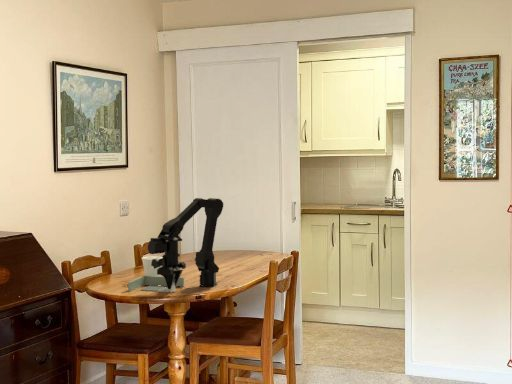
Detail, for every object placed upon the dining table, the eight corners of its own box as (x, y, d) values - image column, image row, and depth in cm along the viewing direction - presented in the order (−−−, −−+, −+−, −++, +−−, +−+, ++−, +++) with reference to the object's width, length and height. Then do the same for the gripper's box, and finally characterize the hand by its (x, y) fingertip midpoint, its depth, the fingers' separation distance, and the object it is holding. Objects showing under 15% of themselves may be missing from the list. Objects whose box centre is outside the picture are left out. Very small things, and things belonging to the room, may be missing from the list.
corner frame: (184, 286, 303) (184, 277, 303) (170, 293, 288) (170, 284, 287) (143, 284, 308) (143, 275, 308) (128, 291, 293) (128, 281, 292)
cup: (147, 283, 309) (147, 260, 309) (138, 280, 317) (137, 257, 317) (167, 281, 315) (166, 258, 315) (157, 278, 323) (156, 255, 323)
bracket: (175, 290, 294) (175, 278, 294) (171, 292, 289) (170, 281, 289) (162, 289, 296) (162, 278, 295) (158, 291, 291) (157, 280, 290)
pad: (167, 286, 302) (167, 285, 302) (157, 291, 292) (157, 290, 292) (150, 285, 305) (150, 285, 305) (140, 290, 294) (140, 289, 294)
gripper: (162, 248, 302) (162, 283, 303) (145, 254, 284) (145, 291, 285) (185, 249, 299) (186, 284, 300) (169, 255, 281) (170, 292, 282)
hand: (171, 287), depth 292 cm, fingers closed on bracket, 5 cm apart
